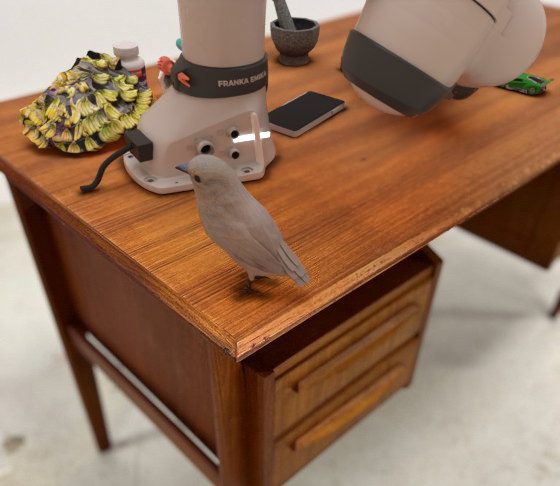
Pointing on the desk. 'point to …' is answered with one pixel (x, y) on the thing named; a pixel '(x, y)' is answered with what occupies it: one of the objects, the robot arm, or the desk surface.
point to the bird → (240, 223)
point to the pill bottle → (131, 59)
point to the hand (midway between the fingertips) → (395, 22)
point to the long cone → (165, 79)
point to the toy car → (528, 84)
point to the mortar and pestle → (293, 35)
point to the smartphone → (303, 113)
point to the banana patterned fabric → (86, 106)
